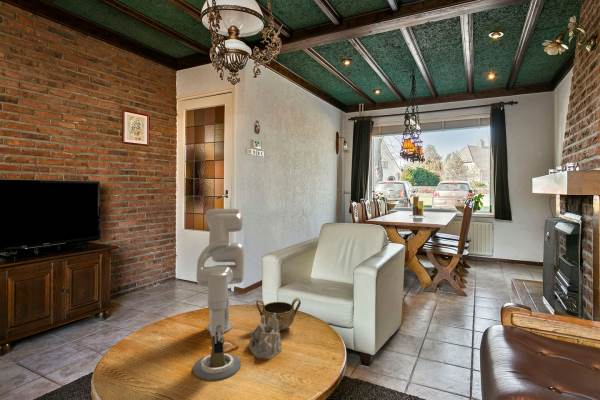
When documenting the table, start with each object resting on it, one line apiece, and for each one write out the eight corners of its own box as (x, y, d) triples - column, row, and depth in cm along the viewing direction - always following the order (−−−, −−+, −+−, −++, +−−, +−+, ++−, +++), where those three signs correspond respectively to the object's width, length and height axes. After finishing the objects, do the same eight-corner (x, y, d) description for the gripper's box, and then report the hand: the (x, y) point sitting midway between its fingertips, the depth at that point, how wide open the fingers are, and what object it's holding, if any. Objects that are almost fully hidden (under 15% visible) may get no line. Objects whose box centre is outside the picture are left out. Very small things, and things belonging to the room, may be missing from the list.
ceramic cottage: (257, 337, 154) (257, 306, 153) (288, 346, 147) (289, 314, 146) (237, 354, 140) (237, 320, 139) (271, 364, 133) (271, 329, 132)
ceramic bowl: (299, 321, 174) (299, 293, 174) (301, 335, 157) (302, 304, 157) (256, 322, 172) (257, 293, 172) (254, 336, 156) (255, 305, 155)
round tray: (192, 359, 134) (192, 353, 134) (237, 352, 139) (237, 347, 139) (193, 384, 117) (193, 377, 117) (244, 375, 122) (244, 368, 122)
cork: (211, 360, 131) (211, 333, 131) (226, 360, 131) (226, 332, 131) (208, 368, 125) (208, 340, 125) (224, 368, 125) (224, 339, 125)
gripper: (206, 297, 135) (206, 338, 135) (209, 312, 118) (208, 359, 119) (225, 295, 137) (225, 335, 138) (230, 310, 121) (229, 356, 121)
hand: (217, 346), depth 128 cm, fingers open, 9 cm apart
